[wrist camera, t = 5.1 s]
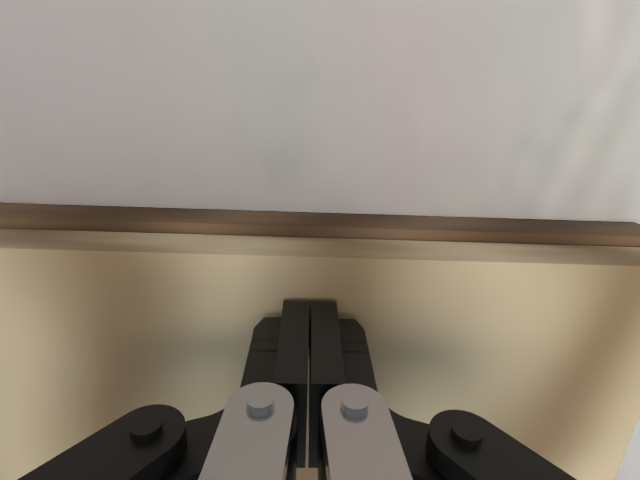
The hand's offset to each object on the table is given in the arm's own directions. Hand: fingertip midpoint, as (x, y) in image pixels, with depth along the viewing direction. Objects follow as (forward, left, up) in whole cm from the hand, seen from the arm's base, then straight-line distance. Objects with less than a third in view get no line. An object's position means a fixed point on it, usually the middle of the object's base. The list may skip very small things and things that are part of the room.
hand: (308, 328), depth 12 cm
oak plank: (0, -2, -1) cm, 3 cm away
